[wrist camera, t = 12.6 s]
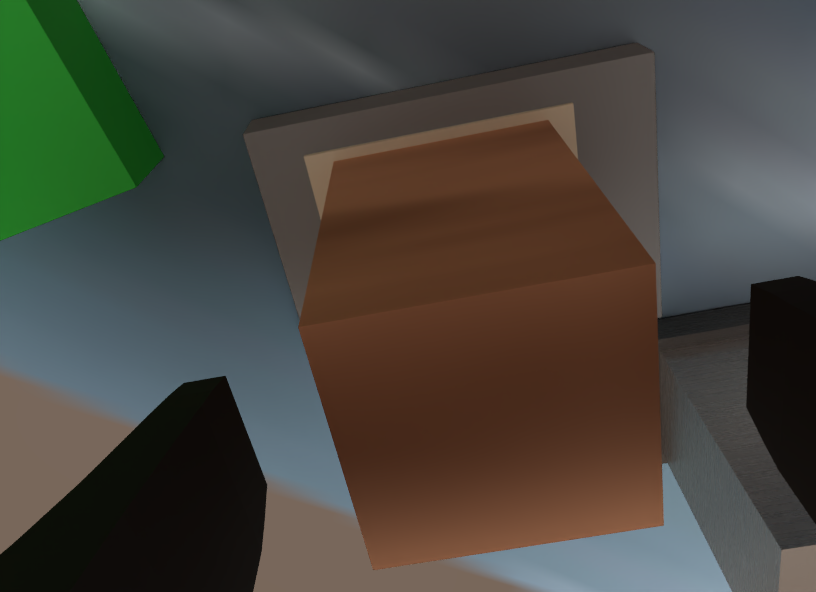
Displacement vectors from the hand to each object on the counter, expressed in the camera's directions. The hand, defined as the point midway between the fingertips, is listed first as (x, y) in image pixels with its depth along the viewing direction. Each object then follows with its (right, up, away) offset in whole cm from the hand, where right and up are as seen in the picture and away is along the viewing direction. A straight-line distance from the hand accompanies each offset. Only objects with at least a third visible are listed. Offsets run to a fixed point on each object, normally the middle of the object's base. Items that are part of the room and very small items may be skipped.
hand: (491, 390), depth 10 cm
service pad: (0, +3, +5) cm, 6 cm away
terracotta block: (0, +2, +4) cm, 5 cm away
